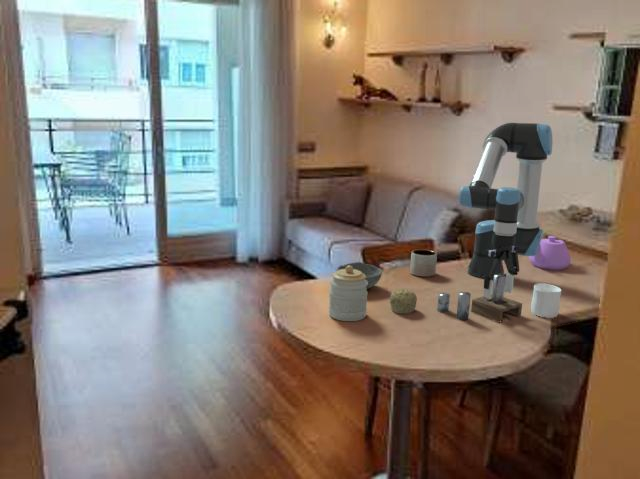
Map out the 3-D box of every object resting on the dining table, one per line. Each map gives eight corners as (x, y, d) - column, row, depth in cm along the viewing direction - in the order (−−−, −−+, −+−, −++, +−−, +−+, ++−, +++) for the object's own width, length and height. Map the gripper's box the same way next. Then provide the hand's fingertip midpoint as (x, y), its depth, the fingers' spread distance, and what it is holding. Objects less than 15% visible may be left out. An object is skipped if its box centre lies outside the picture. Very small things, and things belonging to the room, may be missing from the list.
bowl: (348, 297, 220) (349, 277, 218) (328, 283, 236) (329, 264, 234) (390, 292, 227) (391, 272, 225) (368, 279, 243) (369, 260, 241)
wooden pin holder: (493, 305, 216) (494, 293, 215) (520, 315, 207) (522, 303, 206) (471, 311, 209) (472, 299, 208) (498, 322, 200) (500, 309, 199)
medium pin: (461, 315, 205) (464, 290, 203) (470, 319, 202) (473, 294, 200) (453, 317, 203) (456, 292, 201) (462, 321, 200) (465, 296, 198)
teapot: (545, 257, 285) (548, 230, 282) (579, 266, 272) (583, 237, 269) (514, 265, 270) (517, 236, 267) (549, 275, 257) (553, 244, 254)
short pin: (442, 307, 212) (443, 291, 211) (450, 311, 209) (452, 295, 208) (434, 309, 210) (436, 293, 209) (443, 313, 207) (444, 297, 205)
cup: (543, 320, 203) (547, 293, 201) (523, 310, 212) (526, 284, 210) (564, 316, 207) (568, 290, 205) (543, 307, 216) (546, 282, 214)
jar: (356, 325, 194) (358, 273, 190) (321, 317, 200) (323, 266, 196) (372, 313, 205) (375, 264, 201) (339, 305, 211) (341, 258, 207)
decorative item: (392, 315, 214) (379, 296, 209) (411, 297, 216) (399, 278, 211) (406, 325, 206) (392, 305, 201) (426, 306, 207) (413, 286, 203)
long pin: (495, 310, 211) (498, 273, 208) (504, 314, 208) (508, 276, 204) (487, 312, 209) (491, 274, 205) (496, 316, 205) (501, 277, 202)
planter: (435, 278, 247) (437, 256, 244) (409, 276, 249) (410, 254, 246) (435, 271, 257) (437, 250, 255) (410, 269, 259) (411, 248, 257)
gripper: (516, 227, 211) (509, 286, 216) (472, 234, 198) (467, 297, 203) (534, 231, 205) (527, 292, 210) (491, 239, 192) (484, 303, 197)
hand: (497, 294), depth 206 cm, fingers open, 11 cm apart
